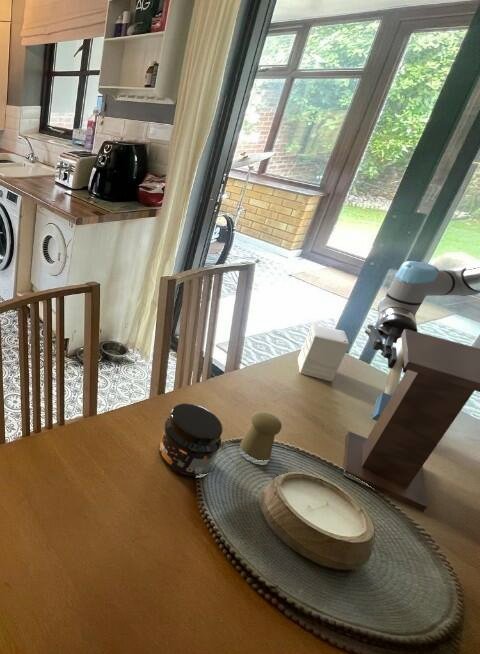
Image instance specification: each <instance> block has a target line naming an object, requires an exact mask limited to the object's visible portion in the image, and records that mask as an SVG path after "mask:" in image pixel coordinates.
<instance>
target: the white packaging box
mask: <svg viewBox="0 0 480 654" xmlns="http://www.w3.org/2000/svg"><path fill="white" fill-rule="evenodd" d="M349 347H350V343H349V340H348V337H347V335H346V332H345V330H341V329H337V328H332V327H327V326H323V325H318V324H314V323H311V326H310V328H309V331H308V333H307V336H306V338H305V341H304V343H303V345H302V348H301V350H300V352H299V355H298V357H297V365H298V369H299V374H302V375H305V376H309V377H313V378H316V379H320V380H323V381H328V382H330V383H331V382H333V380H334V378H335V376H336V375H337V372H338V370H339V367H340V366H341V363H342V362H343V360H344V357H345V356H346V353H347V351H348V349H349Z"/></svg>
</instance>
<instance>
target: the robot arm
mask: <svg viewBox="0 0 480 654" xmlns="http://www.w3.org/2000/svg"><path fill="white" fill-rule="evenodd" d="M476 295H480V263H476V264H471V265H468V266H461V267H458V268H457V267H456V268H450V269H439V268H438V267H437V266H435V265H433V264H430V263H426V262H422V261H415V260H408V261H405V262H403V263H402V264H401V265H400V268H399V269H398V271H396V273H395V275H394V277H393V280H392V282H391V284H390V286H389V288H388V290H387V292H386V293H385V295H384V297H383V298H382V299H381V300H380V301H379V303H378V306H377V313H378V325H377V326H375V325H373V324H371V323H370V324H369V323H368V324H367V326H366V328H365V330H364V333H365V334H366V335H367V336H368V338H369V339H368V340H369V341H370V344H371V347H372V349H373V350H375V351H381V352H380V356H382V357H383V359H387V368H388V369H390V368H391V369H392V368H393V367H394V365H395V363H396V361H397V350H396V348H395V347H394V344H396V343H397V340H398V339H399V338H401V335H402V333H403V331H404V329H408V330H412V331H415V332H419V331H418V325H417V318H416V314H417V312H418V311H419V309H420V308H421V305H422V304H423V302H424V300H425V299H426V297H428V296H429V297H430V296H431V297H433V296H434V297H435V296H436V297H437V296H438V297H439V296H441V297H442V296H459V297H468V296H476ZM382 338H383V339H384V341H383V339H382ZM406 371H407V369H404V363H403V367H402V372H403V373H404V374H405V373H406Z"/></svg>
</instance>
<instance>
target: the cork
mask: <svg viewBox="0 0 480 654" xmlns="http://www.w3.org/2000/svg"><path fill="white" fill-rule="evenodd" d="M250 421H251V426H250V427H249V428H248V430H247V432H246V433H245V434H244V436H243V438H242V439H241V440H240V442H241V443H240V442H239V444H240V446H241V448H242V450H243V451H244V452H245V453H246V454H248V455H249V456H251V457H253V458H255V459H257V460H263V461H264V460H268V459H270V460H271V457H270V456H272V451H273V447H274V442H275V438H276V437H275V436H276V435H278V434H279V433H280V432H281V430H282V421H281V420H280V419H279V417H278V416H276V415H274V414H273V413H271V412H269V411H266V410H257V411H256V412H254V413H253V414H252V416H251V419H250Z"/></svg>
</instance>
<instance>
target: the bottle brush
mask: <svg viewBox="0 0 480 654" xmlns="http://www.w3.org/2000/svg"><path fill="white" fill-rule="evenodd" d="M394 348H396V350H397V361H396V363H395V365H394V367H393V368H392V369H391V368H389V371H388V376H387V379H386V384H385V387H384V391H383V392H382V393H381V394H380V395H378V397H377V398H376V401H375V405H374V408H373V412H372V416H371V420H373V421H376V422H377V421H378V419H379V417H380V416H381V414H382V412H383V410H384V409H385V407H386V405H387V404H388V402H389V400H390V398H391V397H392V395H393V393H394V391H395V390H396V388H397V386H398V385H399V383H400V381H401V380H400V379H401V375H402V372H403V363H404V360H403V349H402V338H399V339H398V340H397V343H395V347H394Z"/></svg>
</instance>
